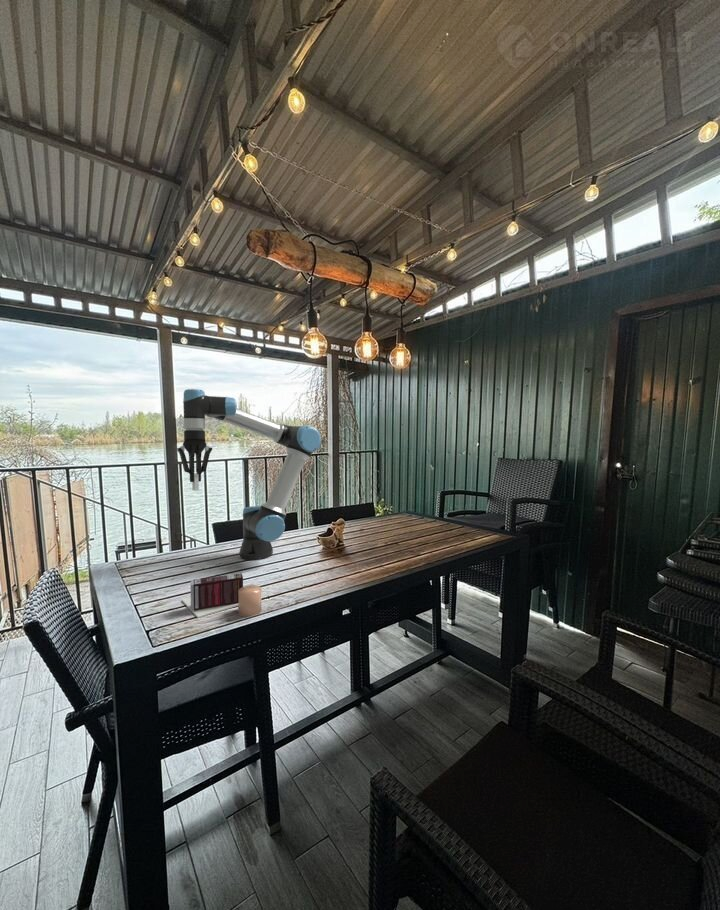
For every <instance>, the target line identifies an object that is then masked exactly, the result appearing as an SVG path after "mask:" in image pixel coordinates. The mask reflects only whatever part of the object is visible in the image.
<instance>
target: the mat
mask: <svg viewBox="0 0 720 910" xmlns="http://www.w3.org/2000/svg"><path fill="white" fill-rule="evenodd" d="M181 601H182V603H183V604H184V605H185V606H186V607H187V608H188V610H190V611H191V596H189V597H186V598H185V597H184V598H182V599H181ZM236 607H238V603H235V604H230V605H224V606H218V607H212V608H207V609H201V610H195V611H191V612H192V613H193V615H194V616H195V617H196V618H197V619H200V618H204V617H207V616H210V615H212V614H216V613H219V612H223V611H225V610H229V609H232V608H236Z"/></svg>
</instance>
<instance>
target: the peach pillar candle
mask: <svg viewBox="0 0 720 910" xmlns="http://www.w3.org/2000/svg"><path fill="white" fill-rule="evenodd" d="M237 607H238V608H237V609H238V616H239V615H240V616H242V617H254V616H256V615H258V614H260V613H261V612H262V586H260V585H255V584H251V585H245V586H244V585H243V587H242V588H240V589H239V590H238V606H237Z"/></svg>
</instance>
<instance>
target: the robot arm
mask: <svg viewBox="0 0 720 910" xmlns="http://www.w3.org/2000/svg"><path fill="white" fill-rule="evenodd" d="M182 403H183V429H185V430H184V431H183V443H182V445H181V446H180V447H177V448H176V451H177V453H178V454H179V456H180V457H179V458H180V460H181V464H182V467H183V470H184V471H183V472H184V473H188V475H189V482H190V483H192V485H191V486H192V491H195V492H197V491H200V489H199V488H200V487H199V485H200V484H199V483H200V482H201V481H202V473H205V472H207V467H208V464H209V463H208V462H209V460H210V459H209V458H210V456H211V455H210V454H211V453H212V451H213V447H210V446H208V445H207V442H206V431H205V430H206V417H208V418H214V419H215V420H216V419H217V420H220V421H223V422H225V423H228V424H230V425H233V426H236V427H239V428H241V429H245V430H247V431H249V432H252V433H254V434H257V435H259V436H263V437H266V438H268V439H271V440H273V443H276V444H279V445H280V446H283V447H285V448H286V452H287V454H286V457H285V459H284V462H283V463H282V466H281V467H280V471H279V472H278V475H277V477H276V480H275V482H274V485H273V487H272V489H271V490H270V494H269V496H268V498H267V500H266V502H265V503H262V504H261V505H253V506H247V507H244V508H243V509H242V532H243V533H242V534H243V535H242V536H243V537H242V541H241V545H240V549H239V558H241V559H242V560H246V561H247V560H248V561H249V560H251V561H254V560H262V559H267V558H270V557H272V556H273V553H274V549H273V546H272V543H271V542H273V541H276V540H278V539H279V538H281V537H282V535H283V534H284V532H285V529H286V524H285V519H286V517H287V513H286V507H287V505H288V502H289V500H290V498H291V496H292V493H293V491H294V489H295V486H296V483H297V481H298V479H299V476H300V474H301V472H302V470H303V468H304V465H305V462H306V461H307V460H309V459H311V457H312V454H313V452H315V451H317V450H318V449H319V447H320V446H321V442H322V437H321V434H320V432H319V431H318V429H317V428H315V427H314V426H312V425H307V424H306V425H299V426H298V425H297V426H296V425H293V426H292V425H288V424H283V423H275V422H273V421H271V420H268V419H265V418H263V417H260V416H258V415H255V414H252V413H250V412H248V411H246V410H243V409H240V408H237V399H235V398H234V397H229V396H216V395H215V396H212V395H211V396H210V395H206V394H205V391H204V390H203V389H197V388H195V389H194V388H189V389H185V390H184V391H183V401H182ZM185 450H186V452H187V454H188V460H187V458H186V453H185ZM203 452H204V454H203V459H202V453H203Z"/></svg>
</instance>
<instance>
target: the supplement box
mask: <svg viewBox="0 0 720 910" xmlns="http://www.w3.org/2000/svg"><path fill="white" fill-rule="evenodd" d="M242 587H244V576H243V574H242V573H234V574H225V575H218V576H213V577H205V578H203V577H202V578H196V579H191V580H190V597H191V610H190V612H192V611H195V610H201V609H207V608H212V607H218V606H224V605H230V604H235V603H238V590H239V589H240V588H242Z"/></svg>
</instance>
